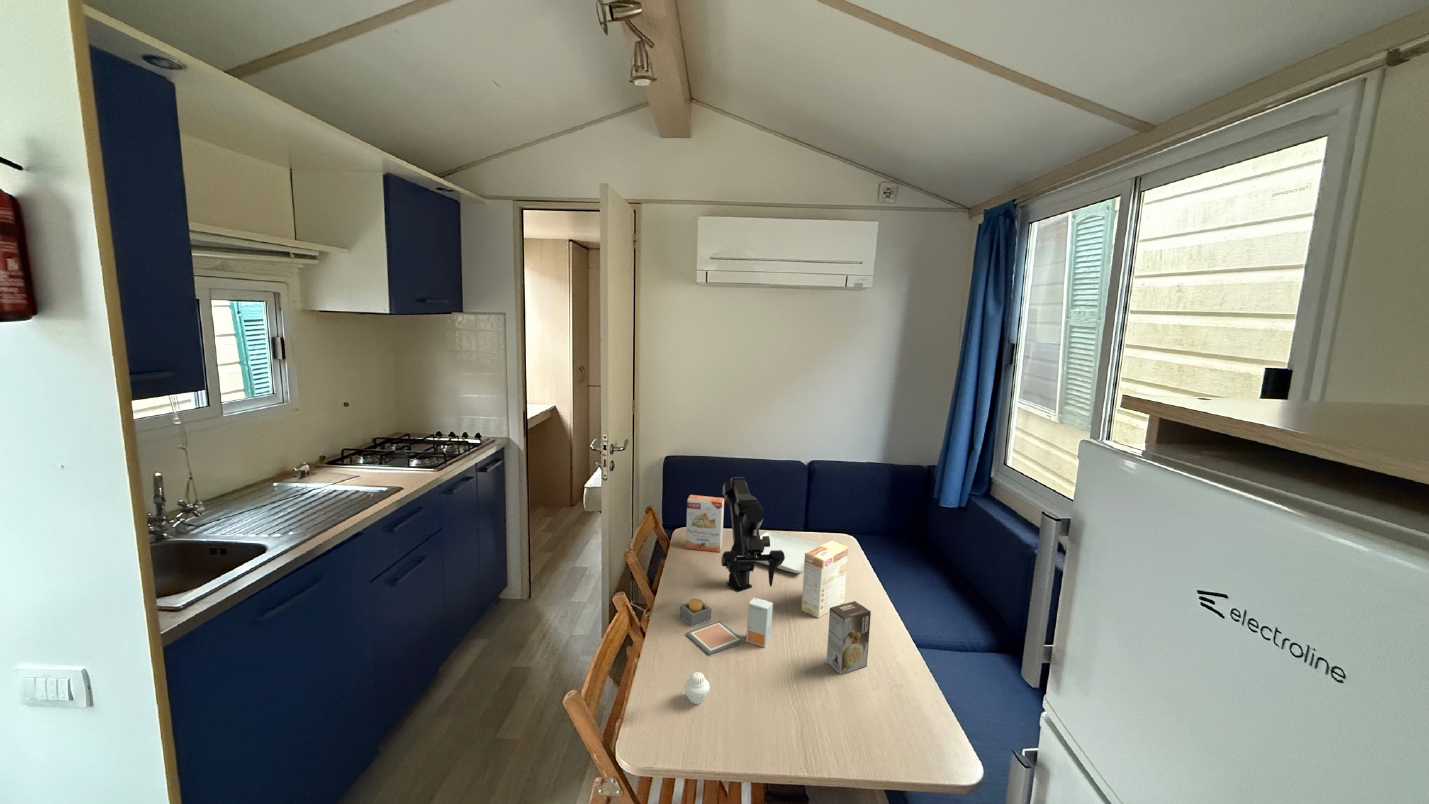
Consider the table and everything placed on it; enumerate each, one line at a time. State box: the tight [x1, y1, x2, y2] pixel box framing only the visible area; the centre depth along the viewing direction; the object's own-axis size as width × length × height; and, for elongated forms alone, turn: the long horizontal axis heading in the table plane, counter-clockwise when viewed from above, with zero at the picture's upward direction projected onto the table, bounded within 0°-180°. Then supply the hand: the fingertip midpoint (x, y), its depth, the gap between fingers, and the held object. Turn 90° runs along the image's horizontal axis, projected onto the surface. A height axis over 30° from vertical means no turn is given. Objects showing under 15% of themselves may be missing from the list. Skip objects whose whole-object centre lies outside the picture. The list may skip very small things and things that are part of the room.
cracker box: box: [685, 494, 725, 553], centre depth 220 cm, size 14×6×21 cm, turn 80°
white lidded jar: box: [683, 671, 710, 705], centre depth 134 cm, size 6×6×7 cm
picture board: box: [685, 620, 745, 656], centre depth 161 cm, size 12×12×1 cm
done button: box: [688, 598, 703, 613], centre depth 171 cm, size 4×4×3 cm
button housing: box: [679, 601, 713, 627], centre depth 171 cm, size 7×7×4 cm
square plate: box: [755, 531, 822, 574], centre depth 217 cm, size 27×27×4 cm
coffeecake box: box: [801, 540, 849, 619], centre depth 179 cm, size 15×7×20 cm, turn 134°
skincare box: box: [745, 597, 774, 648], centre depth 159 cm, size 6×4×12 cm
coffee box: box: [826, 600, 872, 675], centre depth 150 cm, size 9×6×16 cm
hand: (755, 586), depth 165 cm, fingers open, 9 cm apart
